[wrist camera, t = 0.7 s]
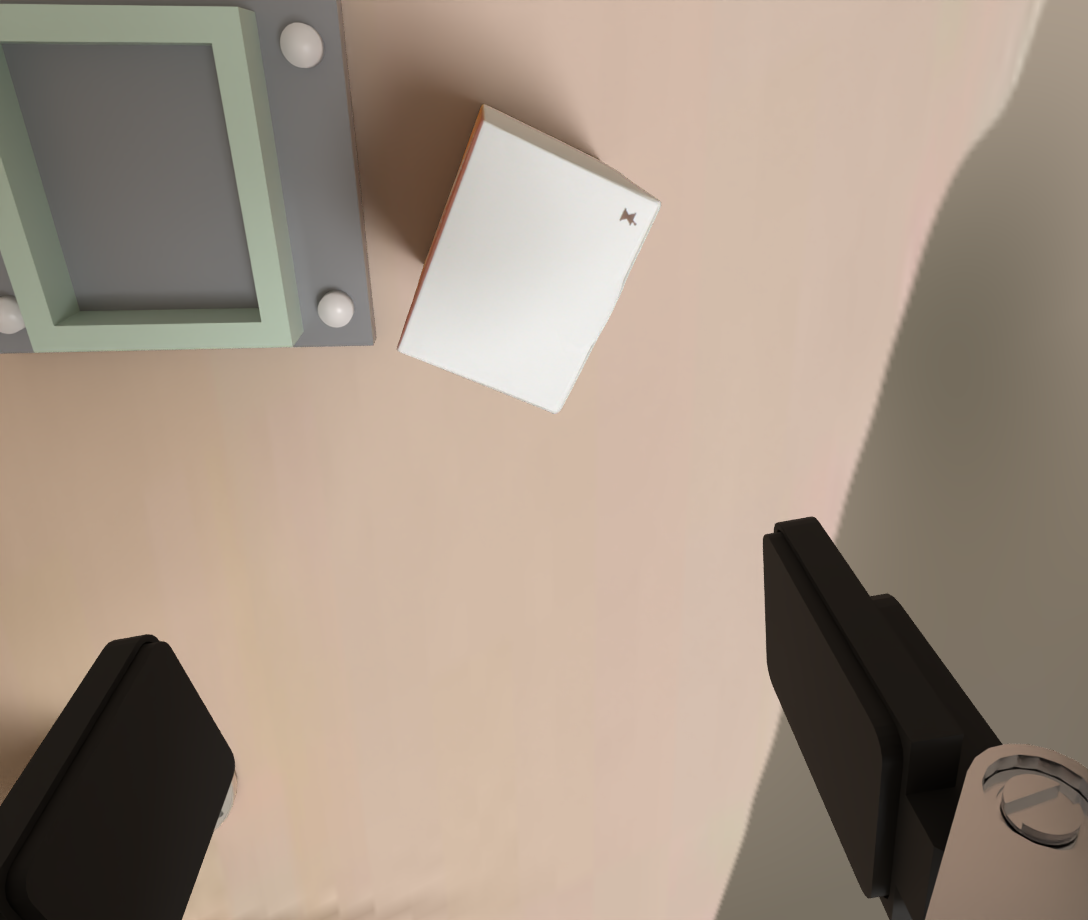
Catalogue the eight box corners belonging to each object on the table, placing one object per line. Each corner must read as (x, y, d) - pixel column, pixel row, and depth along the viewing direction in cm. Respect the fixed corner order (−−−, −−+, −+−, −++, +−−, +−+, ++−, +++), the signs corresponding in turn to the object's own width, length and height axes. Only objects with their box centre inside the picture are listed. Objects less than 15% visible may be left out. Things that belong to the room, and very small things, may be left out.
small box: (480, 100, 33) (482, 111, 21) (605, 161, 35) (669, 201, 23) (419, 267, 36) (392, 354, 25) (536, 316, 38) (562, 419, 26)
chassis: (376, 337, 38) (366, 361, 34) (8, 345, 36) (-37, 371, 33) (340, -8, 31) (324, -18, 27) (-117, -14, 29) (-189, -25, 26)
